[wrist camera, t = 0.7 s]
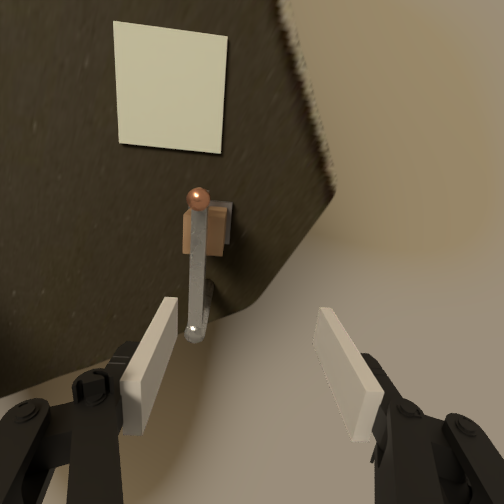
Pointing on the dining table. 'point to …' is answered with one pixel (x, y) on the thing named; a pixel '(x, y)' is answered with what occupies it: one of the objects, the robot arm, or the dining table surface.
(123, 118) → the sage mat
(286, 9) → the dining table surface
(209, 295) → the grey l-shaped handle
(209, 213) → the brown boxy piece
